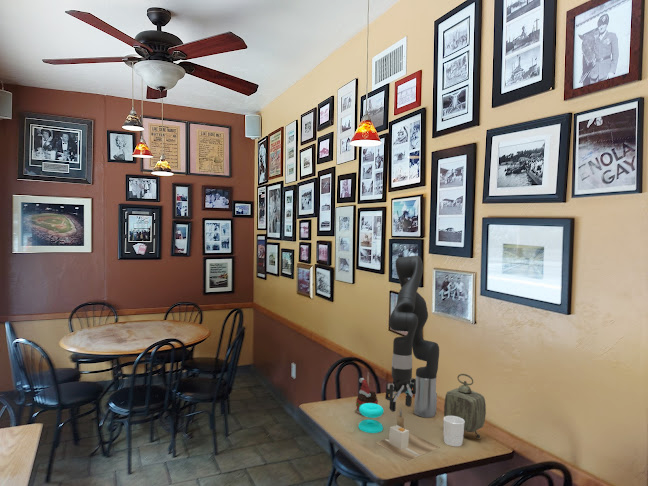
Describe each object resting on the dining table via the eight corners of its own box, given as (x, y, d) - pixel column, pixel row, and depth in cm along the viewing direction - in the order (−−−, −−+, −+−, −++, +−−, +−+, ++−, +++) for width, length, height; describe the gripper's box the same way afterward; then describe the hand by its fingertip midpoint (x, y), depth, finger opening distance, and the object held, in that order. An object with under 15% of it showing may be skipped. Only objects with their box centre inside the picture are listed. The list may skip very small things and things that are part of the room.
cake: (382, 415, 197) (383, 374, 197) (365, 418, 192) (367, 377, 192) (367, 407, 206) (368, 368, 206) (351, 410, 201) (353, 371, 201)
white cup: (460, 452, 164) (461, 425, 164) (439, 446, 169) (440, 420, 169) (465, 444, 171) (467, 418, 171) (445, 439, 175) (446, 414, 175)
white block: (396, 440, 169) (397, 423, 169) (408, 446, 164) (409, 429, 164) (389, 443, 167) (389, 425, 167) (400, 449, 162) (401, 431, 162)
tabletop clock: (484, 439, 177) (487, 376, 177) (473, 445, 171) (476, 381, 171) (452, 427, 187) (454, 368, 187) (440, 432, 181) (443, 371, 181)
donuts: (360, 400, 186) (384, 403, 184) (359, 424, 186) (383, 427, 184) (357, 409, 176) (382, 412, 174) (356, 434, 176) (381, 437, 174)
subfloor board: (407, 434, 178) (407, 431, 178) (439, 450, 165) (440, 447, 165) (375, 445, 167) (375, 442, 167) (407, 463, 154) (407, 460, 154)
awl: (399, 429, 183) (400, 407, 183) (404, 431, 180) (405, 409, 180) (395, 430, 181) (396, 409, 181) (400, 433, 179) (401, 411, 179)
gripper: (407, 360, 173) (405, 401, 173) (381, 365, 164) (379, 409, 164) (422, 365, 167) (420, 407, 167) (396, 371, 158) (394, 416, 158)
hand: (400, 408), depth 165 cm, fingers open, 8 cm apart
